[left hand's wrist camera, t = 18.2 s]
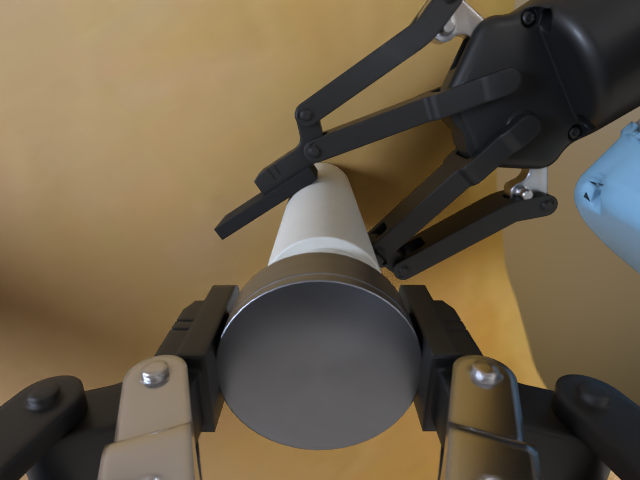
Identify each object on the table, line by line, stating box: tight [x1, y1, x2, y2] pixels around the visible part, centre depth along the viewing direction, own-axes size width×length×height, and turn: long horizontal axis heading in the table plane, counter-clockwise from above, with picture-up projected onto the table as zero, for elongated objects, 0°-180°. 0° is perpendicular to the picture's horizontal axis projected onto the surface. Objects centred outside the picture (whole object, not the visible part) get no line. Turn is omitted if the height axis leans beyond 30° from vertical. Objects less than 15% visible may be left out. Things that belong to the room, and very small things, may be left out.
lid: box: [216, 252, 422, 450], centre depth 10 cm, size 5×5×2 cm
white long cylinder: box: [268, 163, 382, 274], centre depth 20 cm, size 4×4×18 cm
